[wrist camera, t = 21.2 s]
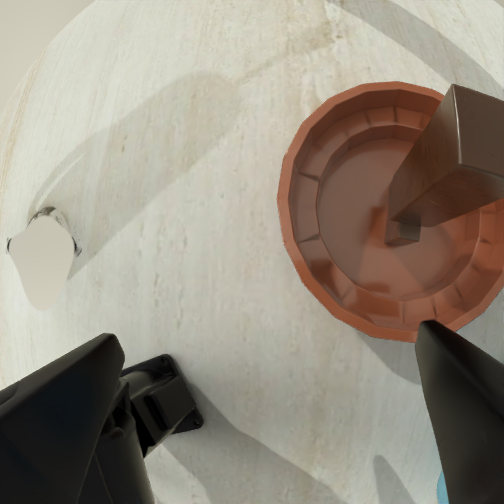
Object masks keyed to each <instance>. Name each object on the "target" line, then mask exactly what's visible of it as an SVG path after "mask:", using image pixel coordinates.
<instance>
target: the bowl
mask: <svg viewBox="0 0 504 504" xmlns="http://www.w3.org/2000/svg"><path fill="white" fill-rule="evenodd" d="M443 98H444V95H443V94H441V93H439V92H437V91H435V90H433V89H429V88H426V87H422V86H417V85H413V84H409V83H404V82H399V81H393V82H378V83H367V84H361V85H359V86H356V87H354V88H351V89H349V90H347V91H344V92H342V93H340V94H337V95H335V96H333V97H331V98H329V99H328V100H327V101H325V102H324V103H323V104H322V105H321V106H320V107H319V108H318V109H317V110H316V111H315V112H313V113H312V114H311V115H310V116H309V117H308V118H307V119H306V120H305V121H304V122H303V123H302V124H301V126H300V128H299V129H298V131H297V133H296V135H295V137H294V139H293V141H292V143H291V144H290V146H289V148H288V150H287V152H286V154H285V156H284V158H283V163H282V169H281V175H280V181H279V187H278V194H277V205H278V212H279V218H280V225H281V232H282V238H283V243H284V246H285V248H286V250H287V252H288V254H289V256H290V258H291V260H292V262H293V264H294V266H295V268H296V270H297V273H298V275H299V277H300V279H301V281H302V283H304V286H305V287H306V288H307V289H308V290H309V291H310V292H311V293H312V294H313V295H314V296H315V297H316V298H317V299H318V300H319V301H320V302H321V304H322V305H323V306H324V307H325V308H326V309H327V310H328V311H329V312H330V313H331V314H332V315H333V316H335V318H337V319H339V320H341V321H343V322H345V323H346V324H348V325H350V326H352V327H354V328H356V329H358V330H360V331H361V332H363V333H365V334H367V335H369V336H371V337H375V338H381V339H388V340H395V341H402V342H410V343H412V342H413V343H415V342H416V339H417V334H418V329H419V325H420V323H421V322H422V321H425V320H431V319H434V320H437V321H438V322H440V323H441V324H443V325H444V326H446V327H447V328H449V329H451V330H452V331H454V332H455V331H457V330H458V329H460V328H462V327H463V326H465V325H466V324H468V323H469V322H471V321H472V320H474V319H475V318H477V317H478V316H479V315H481V314H482V313H484V311H485V310H486V309H487V308H488V306H489V305H490V304H491V302H492V301H493V300H494V298H495V297H496V296H497V294H498V293H499V292H500V290H501V289H502V288H503V286H504V198H502V199H500V200H498V201H495V202H493V203H491V204H488V205H486V206H483V207H481V208H479V209H476V210H474V211H471V212H469V213H466V214H464V215H461V216H459V217H457V218H454V219H452V220H449V221H447V222H444V223H441V224H439V225H436V226H434V227H431V228H429V227H423V226H421V229H420V239H419V242H415V243H412V244H408V245H405V246H395V245H389V244H385V243H384V242H385V234H386V225H387V215H388V204H389V191H390V183H391V181H392V180H393V175H394V174H395V172H396V171H397V170H398V168H399V167H400V165H401V164H402V162H403V161H404V159H405V158H406V156H407V155H408V153H409V152H410V150H411V149H412V147H413V146H414V144H415V143H416V141H417V140H418V138H419V137H420V135H421V133H422V132H423V130H424V129H425V127H426V126H427V124H428V122H429V121H430V119H431V118H432V116H433V114H434V113H435V111H436V110H437V108H438V106H439V105H440V103H441V101H442V100H443Z"/></svg>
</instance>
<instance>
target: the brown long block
mask: <svg viewBox="0 0 504 504" xmlns="http://www.w3.org/2000/svg"><path fill="white" fill-rule="evenodd" d="M502 198H504V101H502V100H500V99H497V98H494V97H492V96H489V95H486V94H483V93H481V92H478V91H475V90H472V89H469V88H465V87H462V86H459V85H456V84H452V85H451V86H450V88H449V90H448V91H447V93H446V95H445V96H444V98H443V100H442V101H441V103H440V105H439V106H438V108H437V110H436V111H435V113H434V114H433V116H432V118H431V119H430V121H429V122H428V124H427V126H426V127H425V129H424V130H423V132H422V133H421V135H420V137H419V138H418V140H417V141H416V143H415V144H414V146H413V147H412V149H411V150H410V152H409V153H408V155H407V156H406V158H405V159H404V161H403V162H402V164H401V165H400V167H399V168H398V170H397V171H396V172H395V174H394V175H393V180H392V181H391V183H390V191H389V204H388V215H387V225H386V234H385V242H384V243H385V244H389V245H395V246H405V245H408V244H412V243H415V242H419V239H420V229H421V226H423V227H429V228H431V227H434V226H436V225H439V224H441V223H444V222H447V221H449V220H452V219H454V218H457V217H459V216H461V215H464V214H466V213H469V212H471V211H474V210H476V209H479V208H481V207H483V206H486V205H488V204H491V203H493V202H495V201H498V200H500V199H502Z"/></svg>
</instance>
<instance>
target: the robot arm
mask: <svg viewBox="0 0 504 504" xmlns="http://www.w3.org/2000/svg"><path fill="white" fill-rule="evenodd" d="M415 352H416V357H417V361H418V366H419V371H420V376H421V382H422V387H423V392H424V397H425V401H426V405H427V409H428V412H429V416H430V419H431V423H432V427H433V431H434V434H435V438H436V442H437V447H438V451H439V455H440V460H441V464H442V469H443V474H444V479H445V484H446V490H447V496H448V502H449V504H504V365H503V364H502V363H500V362H499V361H497V360H496V359H494V358H493V357H491V356H490V355H489V354H487V353H486V352H484V351H483V350H481V349H480V348H478V347H477V346H475V345H474V344H472V343H470V342H469V341H467V340H466V339H464V338H463V337H461V336H460V335H458V334H457V333H455V332H454V331H452V330H451V329H449V328H447V327H446V326H444V325H443V324H441V323H440V322H438V321H437V320H434V319H431V320H425V321H422V322H421V323H420V325H419V329H418V334H417V339H416V344H415ZM163 359H166V361H167V363H165V362H164V360H163ZM124 361H125V354H124V351H123V349H122V347H121V345H120V343H119V341H118V339H117V337H116V336H115V335H114V334H110V333H103V334H101V335H99V336H97V337H95V338H94V339H92V340H90V341H88V342H87V343H85V344H83V345H81V346H79V347H78V348H76V349H74V350H72V351H71V352H69V353H67V354H65V355H64V356H62V357H60V358H58V359H56V360H55V361H53V362H51V363H49V364H48V365H46V366H44V367H42V368H41V369H39V370H37V371H35V372H33V373H32V374H30V375H28V376H26V377H25V378H23V379H21V381H17V382H16V383H14V384H12V385H10V386H9V387H7V388H5V389H3V390H1V391H0V504H155V502H154V497H153V493H152V490H151V486H150V482H149V479H148V475H147V471H146V467H145V463H144V458H145V457H146V456H147V455H148V454H149V453H150V452H152V451H153V450H154V449H155V448H156V447H157V446H158V445H159V444H160V443H161V442H162V441H163V440H165V439H166V438H167V437H168V436H169V435H172V434H177V433H181V432H186V431H191V430H195V429H199V428H201V427H202V426H203V424H204V421H203V419H202V417H201V415H200V413H199V411H198V409H197V408H196V406H195V405H196V404H195V402H194V400H193V398H192V397H191V395H190V393H189V391H188V389H187V387H186V385H185V383H184V381H183V379H182V378H181V377H180V375H179V373H178V371H177V369H176V367H175V365H174V363H173V361H172V359H171V357H170V356H169V355H168V354H163V355H160V356H157V357H155V358H152V359H150V360H147V361H145V362H142V363H139V364H137V365H134V366H131V367H129V368H126V369H123V370H122V368H123V364H124ZM195 421H198V422H199V424H197V423H196V422H195Z"/></svg>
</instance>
